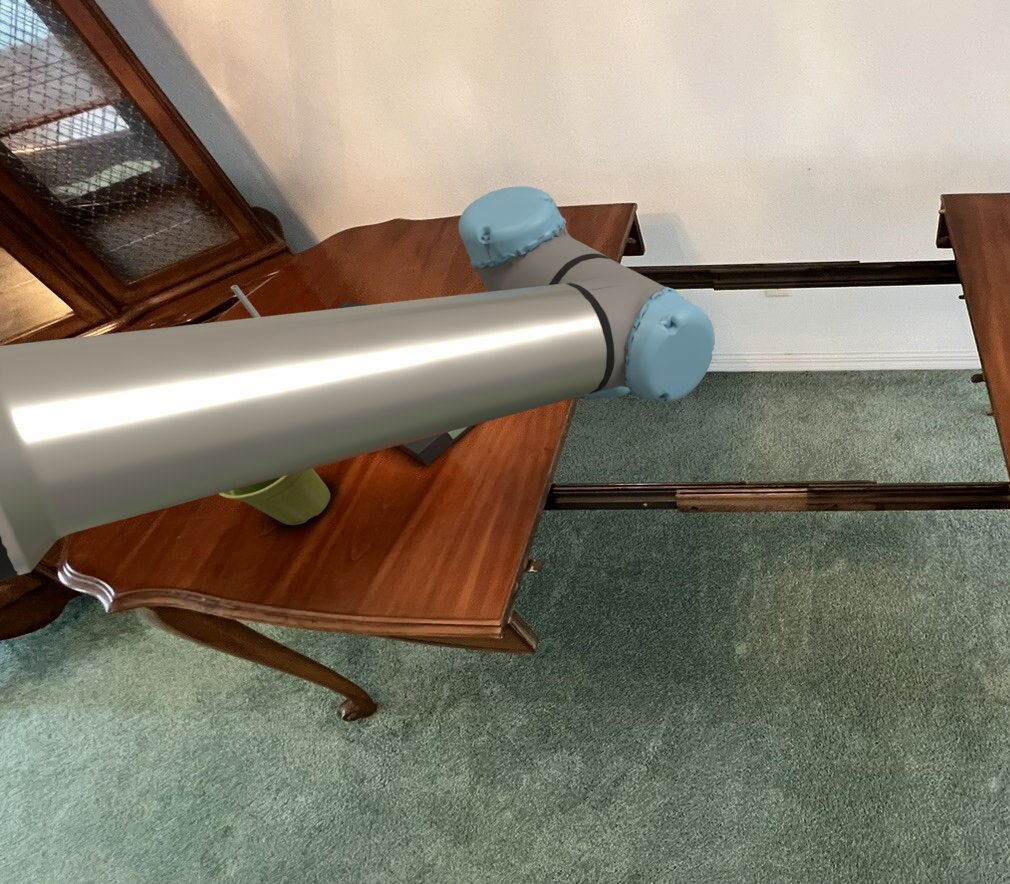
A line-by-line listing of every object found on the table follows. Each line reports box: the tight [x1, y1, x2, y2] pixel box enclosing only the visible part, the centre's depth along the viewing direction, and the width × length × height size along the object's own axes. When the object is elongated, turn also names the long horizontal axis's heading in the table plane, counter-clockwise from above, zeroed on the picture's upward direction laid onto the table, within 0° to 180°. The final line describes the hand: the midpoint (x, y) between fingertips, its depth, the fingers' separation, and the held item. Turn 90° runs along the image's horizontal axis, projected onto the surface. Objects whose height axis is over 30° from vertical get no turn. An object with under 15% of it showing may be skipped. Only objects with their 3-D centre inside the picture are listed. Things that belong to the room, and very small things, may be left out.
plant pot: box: [218, 468, 331, 526], centre depth 80 cm, size 9×9×9 cm
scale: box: [395, 425, 475, 467], centre depth 91 cm, size 14×15×3 cm
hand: (242, 363), depth 64 cm, fingers closed on beverage cup, 7 cm apart
